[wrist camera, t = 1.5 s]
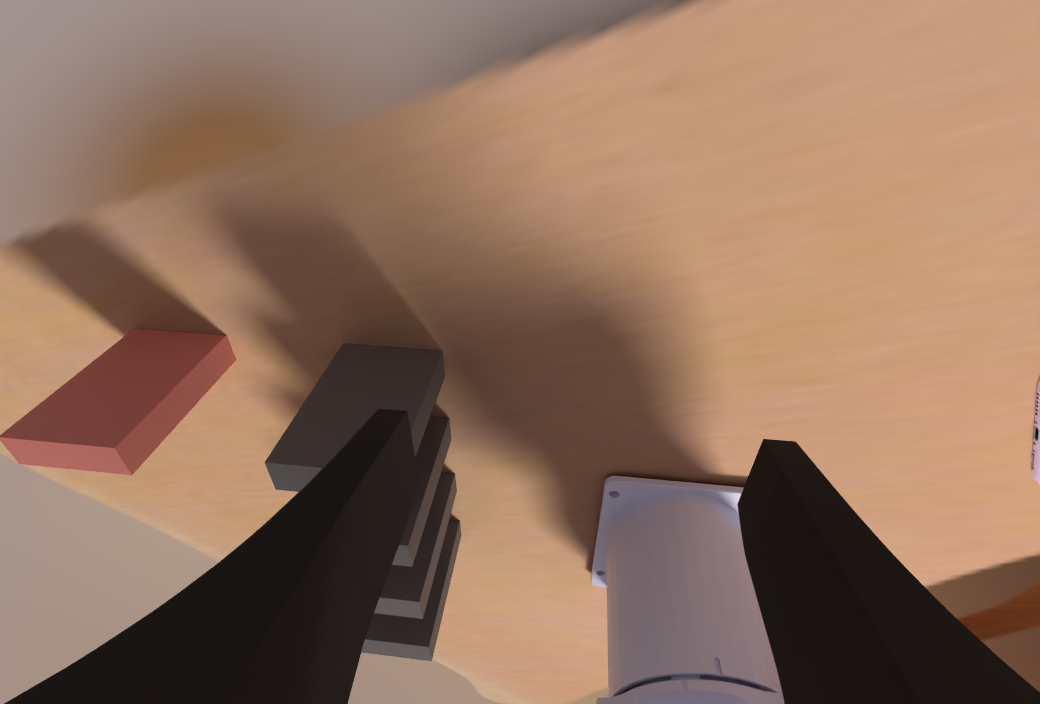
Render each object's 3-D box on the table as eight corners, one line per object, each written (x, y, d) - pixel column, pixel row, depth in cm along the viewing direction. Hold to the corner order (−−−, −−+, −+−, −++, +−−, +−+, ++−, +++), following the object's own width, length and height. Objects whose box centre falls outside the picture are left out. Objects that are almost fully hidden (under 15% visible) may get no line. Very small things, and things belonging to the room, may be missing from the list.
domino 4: (461, 535, 31) (431, 661, 26) (386, 527, 32) (341, 649, 26) (459, 520, 30) (428, 647, 25) (383, 512, 31) (335, 635, 25)
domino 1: (445, 375, 24) (399, 501, 18) (348, 368, 24) (275, 489, 19) (442, 350, 23) (393, 474, 18) (343, 343, 24) (264, 462, 18)
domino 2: (451, 438, 26) (412, 566, 21) (363, 431, 27) (302, 554, 21) (449, 418, 26) (408, 545, 20) (358, 410, 26) (293, 533, 20)
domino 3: (456, 491, 29) (422, 618, 23) (376, 483, 29) (323, 606, 24) (454, 473, 28) (419, 602, 22) (372, 465, 28) (316, 590, 23)
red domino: (236, 359, 25) (131, 475, 19) (146, 353, 25) (19, 463, 20) (226, 335, 24) (114, 448, 19) (134, 328, 25) (-3, 437, 19)
